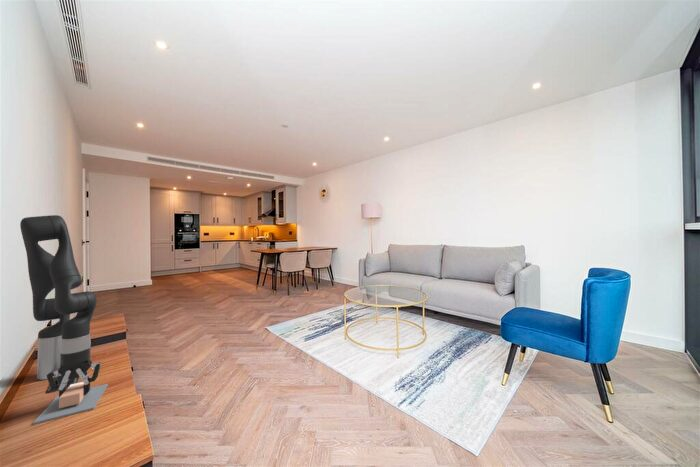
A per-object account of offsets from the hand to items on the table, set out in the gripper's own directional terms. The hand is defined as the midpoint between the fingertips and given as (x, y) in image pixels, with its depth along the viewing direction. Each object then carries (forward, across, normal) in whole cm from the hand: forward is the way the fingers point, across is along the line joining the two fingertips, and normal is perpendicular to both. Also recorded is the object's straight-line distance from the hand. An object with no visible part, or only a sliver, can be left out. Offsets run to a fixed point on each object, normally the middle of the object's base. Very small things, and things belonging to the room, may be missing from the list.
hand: (75, 396), depth 94 cm
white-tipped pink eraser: (+1, 0, 0) cm, 1 cm away
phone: (+3, -9, +22) cm, 24 cm away
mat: (+2, 0, 0) cm, 2 cm away
